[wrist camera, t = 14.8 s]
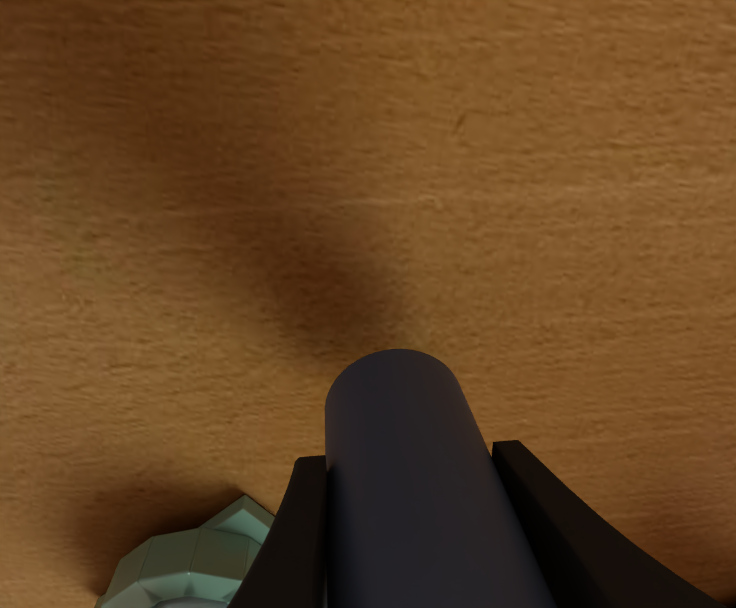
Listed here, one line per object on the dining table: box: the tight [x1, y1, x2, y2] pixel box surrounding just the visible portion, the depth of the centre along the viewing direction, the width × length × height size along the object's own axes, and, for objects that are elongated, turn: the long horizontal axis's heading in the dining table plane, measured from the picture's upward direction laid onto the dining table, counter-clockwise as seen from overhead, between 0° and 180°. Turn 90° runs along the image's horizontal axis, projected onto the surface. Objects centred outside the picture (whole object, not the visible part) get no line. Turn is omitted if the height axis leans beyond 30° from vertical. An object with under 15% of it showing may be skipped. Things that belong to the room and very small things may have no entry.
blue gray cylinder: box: [325, 349, 558, 608], centre depth 11 cm, size 4×4×8 cm
